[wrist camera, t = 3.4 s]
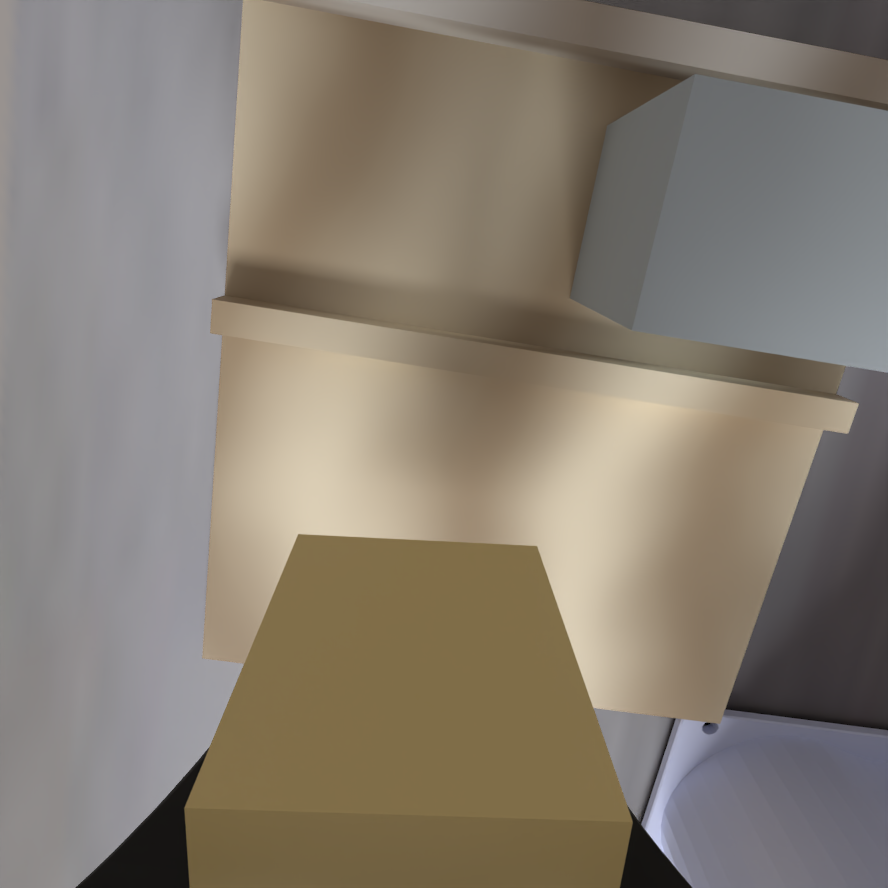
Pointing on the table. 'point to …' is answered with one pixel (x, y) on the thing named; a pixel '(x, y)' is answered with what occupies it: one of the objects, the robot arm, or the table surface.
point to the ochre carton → (408, 731)
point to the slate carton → (744, 223)
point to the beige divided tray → (495, 330)
